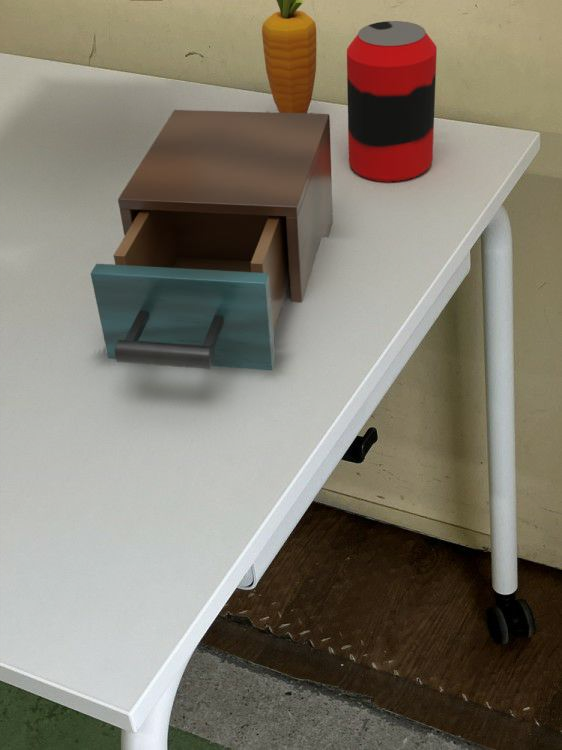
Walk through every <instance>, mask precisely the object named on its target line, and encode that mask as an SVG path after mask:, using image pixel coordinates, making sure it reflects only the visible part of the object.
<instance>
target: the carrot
mask: <svg viewBox="0 0 562 750" xmlns="http://www.w3.org/2000/svg"><path fill="white" fill-rule="evenodd" d="M303 2H304V0H276V3H277V6H278V8H279V11H275V12H274V13H273V14H271V15H270V16H269V17H267V18H266V19H265V21H264V22H262V27H261V35H262V36H261V37H262V47H263V56H264V64H265V71H266V75H267V79H268V84H269V88H270V91H271V95H272V98H273V102H274V104H275V107H276V108H277V111H278V113H308V111H309V108H310V105H311V102H312V97H313V92H314V87H315V82H316V81H315V80H316V73H317V25H316V21H315V20H314V19H313V18H312V17H310V15H308V14H307V13H306V12H305V11H302V10H298V9H299V8H300V7H301V5H302V4H303Z"/></svg>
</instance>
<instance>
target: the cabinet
mask: <svg viewBox="0 0 562 750" xmlns="http://www.w3.org/2000/svg"><path fill="white" fill-rule="evenodd" d="M330 117H331V115H330V113H308V112H307V113H279V112H267V111H262V112H261V111H234V110H233V111H232V110H230V111H228V110H195V109H193V110H192V109H191V110H190V109H174V110H173V111H172V113H171V114H170V116H169V117H168V119H167V121H166V122H165V123H164V125H163V127H162V128H161V130H160V132H159V133H158V135H157V137H156V138H155V139H154V141H153V143H152V144H151V146H150V148H149V149H148V150H147V152H146V154H145V155H144V157H143V159H142V160H141V162H140V163H139V165H138V167H137V168H136V170H135V171H134V173H133V175H132V176H131V178H130V179H129V181H128V182H127V184H126V186H125V187H124V189H123V190H122V191H121V193H120V195H119V197H118V198H117V202H118V207H119V213H120V218H121V224H122V230H123V236H124V237H125V235H126V233H127V232H128V230H129V228H130V227H131V225H132V223H133V222H134V220H135V218H136V216H137V215H138V213H139V211H140V210H158V211H180V212H202V213H224V214H246V215H268V216H286V228H287V244H288V260H289V276H290V285H289V292H290V302H291V303H303V301H304V298H305V294H306V290H307V287H308V284H309V281H310V277H311V274H312V272H313V268H314V264H315V261H316V258H317V254H318V251H319V247H320V244H321V241H322V238H329V235H330V233H331V228H332V224H333V222H334V220H333V219H334V217H333V183H332V181H333V180H332V152H331V151H332V148H331V147H332V146H331V118H330Z"/></svg>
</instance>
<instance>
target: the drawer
mask: <svg viewBox="0 0 562 750" xmlns="http://www.w3.org/2000/svg"><path fill="white" fill-rule="evenodd" d="M113 261H114V264H112V263H111V264H110V263H96V264H95V265H94V267H92V270H91V272H90V278H91V283H92V287H93V291H94V298H95V302H96V306H97V312H98V316H99V322H100V325H101V330H102V337H103V340H104V345H105V349H106V354H107V359H110V360H111V359H112V360H115V361H116V362H117V363H122V364H123V363H124V364H136V365H150V366H161V367H164V366H165V367H178V368H188V369H189V368H190V369H202V370H203V369H204V370H211V369H213V367H218V368H219V367H220V368H231V369H232V368H233V369H246V370H259V371H260V370H261V371H273V369H274V368H275V362H276V350H275V349H276V347H275V337H274V336H275V335H274V334H275V331H276V328H277V326H278V321H279V318H280V316H281V312H282V309H283V306H284V304H285V300H286V297H287V294H288V291H289V289H290V276H289V260H288V244H287V228H286V216H268V215H246V214H224V213H202V212H180V211H158V210H140V211H139V213H138V215H137V216H136V218H135V220H134V222H133V223H132V225H131V227H130V228H129V230H128V232H127V233H126V235H125V236H124V237H123V238H122V241H121V242H120V244H119V245H118V247H117V248H116V251H115V252H114V254H113Z"/></svg>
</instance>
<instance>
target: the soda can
mask: <svg viewBox="0 0 562 750" xmlns="http://www.w3.org/2000/svg"><path fill="white" fill-rule="evenodd" d="M426 31H427V30H425V28H424V27H423V26H422V25H419V24H418V23H417V24H416V23H414V22H409V21H401V20H387V21H380V22H379V21H378V22H374V23H370V24H367V25H365V26H364V27H362V28H361V29H359V30H358V32H357V34H356V36H355V37H354V38H353V40H352V41H351V42H350V44H349V45H348V47H347V48H346V81H347V82H346V84H347V85H346V86H347V88H346V89H347V91H346V92H347V133H348V134H347V137H348V138H347V139H348V140H347V141H348V145H347V146H348V164H349V166H350V167H351V169H353V171H354V172H355V173H356V174H357V175H359V176H361V177H362V178H365V179H368V180H371V181H376V182H383V183H384V182H386V183H389V182H390V183H391V182H392V181H395V182H401V181H400V180H403V181H407V180H406V179H408V180H411V179H414V178H416V176H417V177H418V175H419V176H421V175H422V174H424V173H425V172H426V171H427V170H428V169H429V168H430V166H431V165H432V163H433V159H434V158H433V156H434V155H433V154H434V131H435V130H434V129H435V105H436V104H435V101H436V77H437V76H436V75H437V54H438V53H437V51H438V50H437V45H436V44H435V42H434V41H433V39H432V38H431V37H430V36H429V34H428V33H427V32H426ZM424 171H425V172H424ZM420 174H421V175H420ZM410 178H411V179H410Z"/></svg>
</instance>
